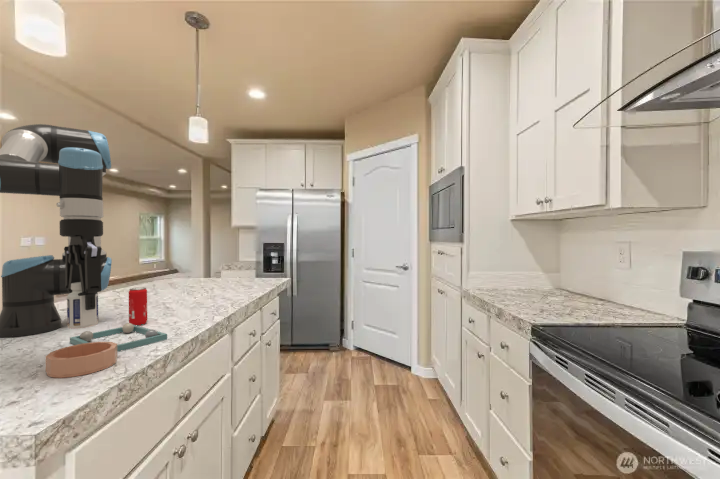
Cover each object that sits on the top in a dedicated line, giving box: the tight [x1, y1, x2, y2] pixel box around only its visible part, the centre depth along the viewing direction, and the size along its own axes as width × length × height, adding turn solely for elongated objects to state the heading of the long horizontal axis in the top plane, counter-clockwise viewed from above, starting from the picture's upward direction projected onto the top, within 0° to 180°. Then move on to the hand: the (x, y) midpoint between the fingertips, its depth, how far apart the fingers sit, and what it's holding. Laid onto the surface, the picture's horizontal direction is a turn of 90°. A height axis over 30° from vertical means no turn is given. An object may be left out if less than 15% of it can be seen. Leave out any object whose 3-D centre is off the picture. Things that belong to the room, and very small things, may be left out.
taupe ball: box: [79, 330, 94, 343], centre depth 94 cm, size 3×3×3 cm
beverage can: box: [128, 287, 148, 326], centre depth 113 cm, size 5×5×12 cm
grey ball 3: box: [144, 328, 158, 338], centre depth 95 cm, size 3×3×3 cm
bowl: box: [45, 341, 118, 379], centre depth 76 cm, size 12×12×4 cm
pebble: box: [121, 322, 134, 334], centre depth 103 cm, size 3×3×3 cm
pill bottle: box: [66, 282, 99, 330], centre depth 75 cm, size 5×5×10 cm
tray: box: [69, 325, 168, 352], centre depth 95 cm, size 20×16×2 cm
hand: (83, 322), depth 75 cm, fingers closed on pill bottle, 5 cm apart
